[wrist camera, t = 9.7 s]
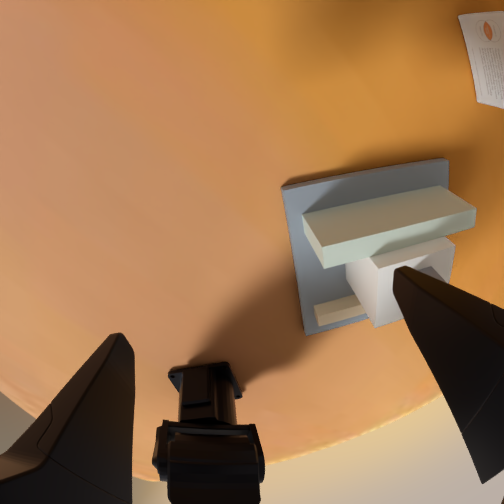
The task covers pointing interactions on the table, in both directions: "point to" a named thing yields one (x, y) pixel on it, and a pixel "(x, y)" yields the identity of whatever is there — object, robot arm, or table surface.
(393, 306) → the block with grey handle
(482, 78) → the small box
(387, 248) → the cleat board
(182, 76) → the table surface
